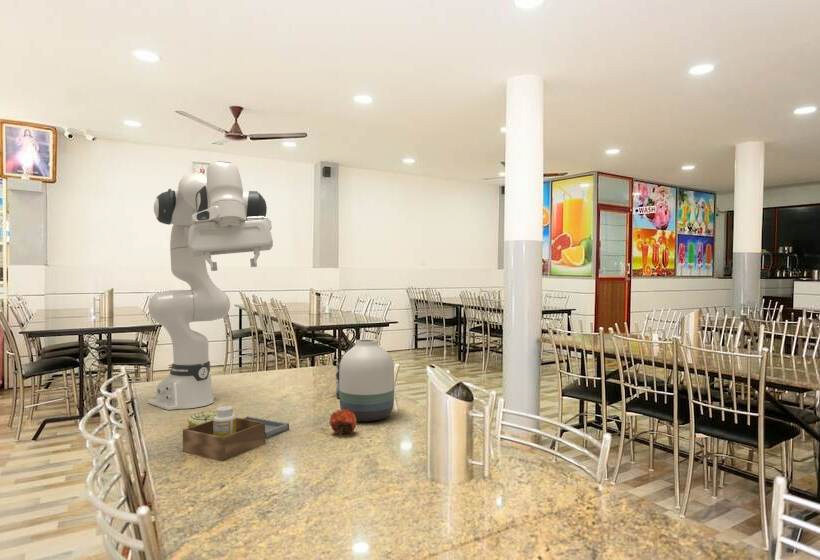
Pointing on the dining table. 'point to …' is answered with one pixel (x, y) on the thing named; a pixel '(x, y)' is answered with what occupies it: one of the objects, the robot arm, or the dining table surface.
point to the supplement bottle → (224, 421)
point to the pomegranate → (343, 421)
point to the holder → (223, 439)
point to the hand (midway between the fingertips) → (234, 268)
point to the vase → (367, 381)
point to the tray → (271, 426)
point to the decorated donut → (201, 417)
